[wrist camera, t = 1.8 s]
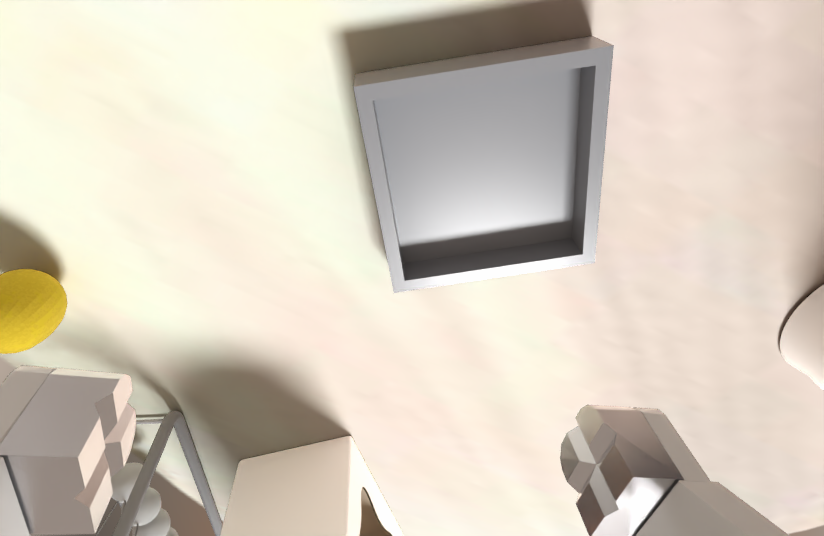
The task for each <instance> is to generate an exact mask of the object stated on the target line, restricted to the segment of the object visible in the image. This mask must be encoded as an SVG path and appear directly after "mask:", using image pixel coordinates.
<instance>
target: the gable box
mask: <svg viewBox="0 0 824 536" xmlns="http://www.w3.org/2000/svg"><path fill="white" fill-rule="evenodd" d="M220 536H403V532H402V530H401V529H400V527H399V525H398V523H397V521H396V519H395V517H394V515H393V514H392V512H391V510H390V508H389V506H388V504H387V502H386V500H385V498H384V497H383V495H382V493H381V491H380V489H379V487H378V485H377V483H376V481H375V480H374V478H373V476H372V474H371V472H370V470H369V468H368V466H367V464H366V463H365V461H364V459H363V457H362V455H361V453H360V451H359V449H358V448H357V446H356V444H355V442H354V440H353V438H352V436H350V435H349V436H345V437H341V438H336V439H332V440H327V441H323V442H318V443H314V444H310V445H305V446H301V447H296V448H292V449H287V450H283V451H279V452H274V453H270V454H265V455H261V456H257V457H252V458H248V459H243V460H241V461H240V462H239V463H238V467H237V471H236V475H235V479H234V483H233V487H232V491H231V494H230V498H229V502H228V506H227V510H226V514H225V518H224V522H223V525H222V529H221V533H220Z"/></svg>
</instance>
